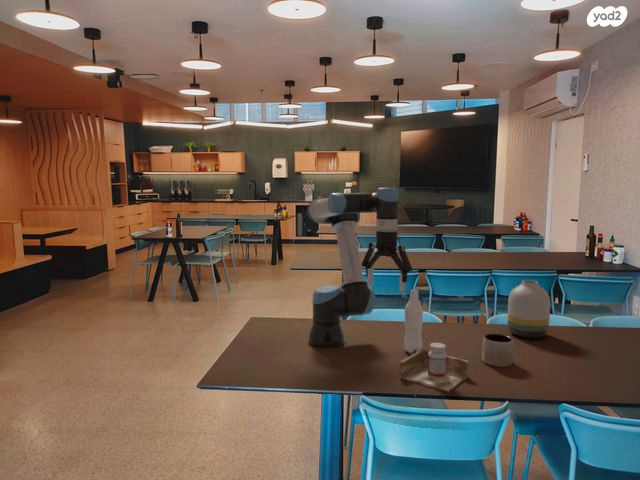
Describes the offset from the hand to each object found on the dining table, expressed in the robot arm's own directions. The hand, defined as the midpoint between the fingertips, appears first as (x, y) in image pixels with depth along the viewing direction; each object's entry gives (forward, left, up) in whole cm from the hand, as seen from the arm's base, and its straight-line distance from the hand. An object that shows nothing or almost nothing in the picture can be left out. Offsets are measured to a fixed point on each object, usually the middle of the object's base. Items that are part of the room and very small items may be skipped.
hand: (385, 288), depth 173 cm
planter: (+32, +28, -29) cm, 51 cm away
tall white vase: (+2, +18, -29) cm, 34 cm away
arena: (+20, 0, -29) cm, 35 cm away
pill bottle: (+22, -1, -28) cm, 35 cm away
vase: (+31, +69, -29) cm, 81 cm away
